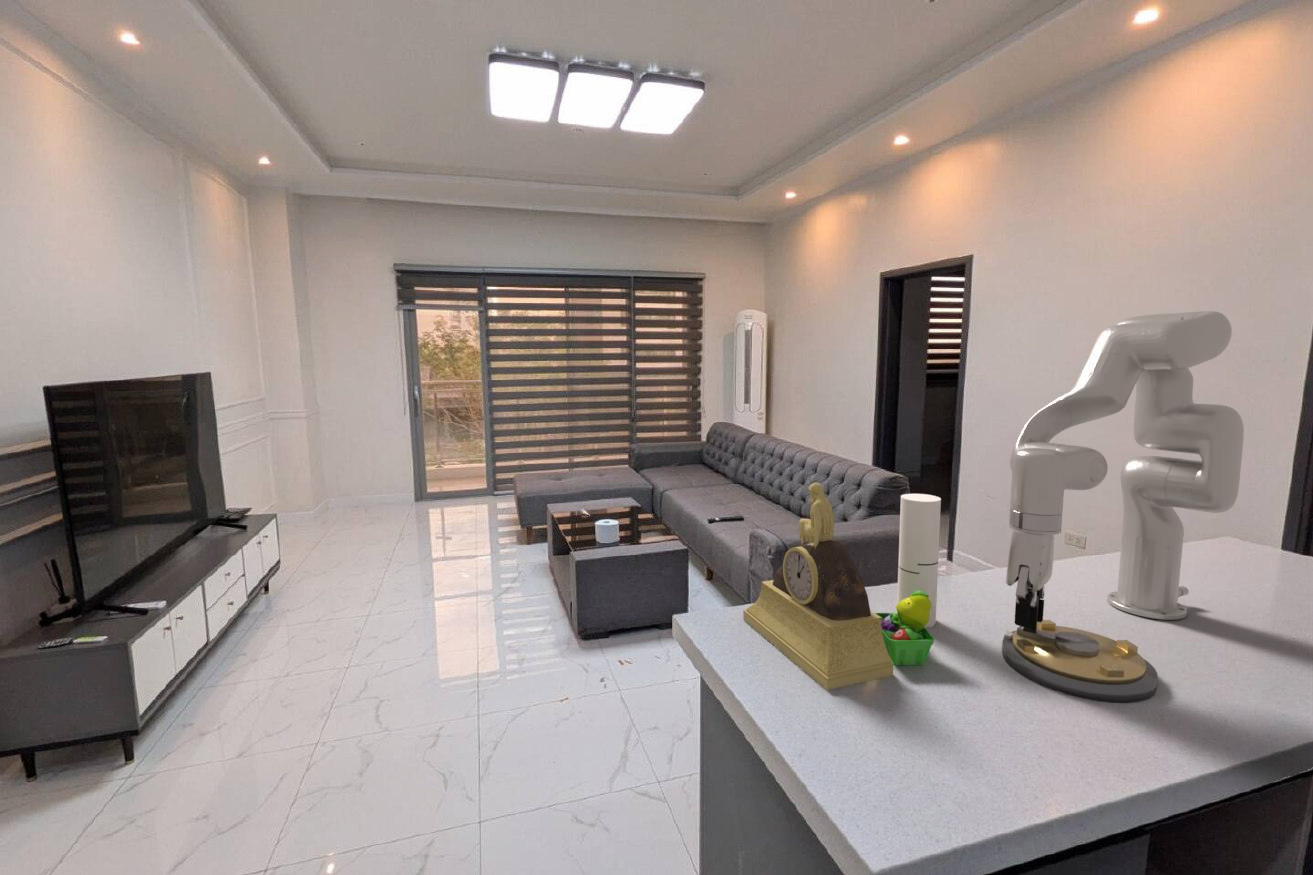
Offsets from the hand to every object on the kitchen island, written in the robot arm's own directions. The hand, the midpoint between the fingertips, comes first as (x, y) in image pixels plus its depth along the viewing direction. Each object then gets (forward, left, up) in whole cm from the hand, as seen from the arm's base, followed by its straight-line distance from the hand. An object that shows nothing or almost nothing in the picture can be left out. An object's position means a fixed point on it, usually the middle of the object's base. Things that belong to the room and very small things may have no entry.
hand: (1028, 622), depth 102 cm
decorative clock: (+34, -16, -6) cm, 38 cm away
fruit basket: (+20, -8, -6) cm, 22 cm away
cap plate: (-3, +6, -6) cm, 9 cm away
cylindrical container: (+8, -18, -6) cm, 20 cm away
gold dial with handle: (-3, +6, -4) cm, 8 cm away
